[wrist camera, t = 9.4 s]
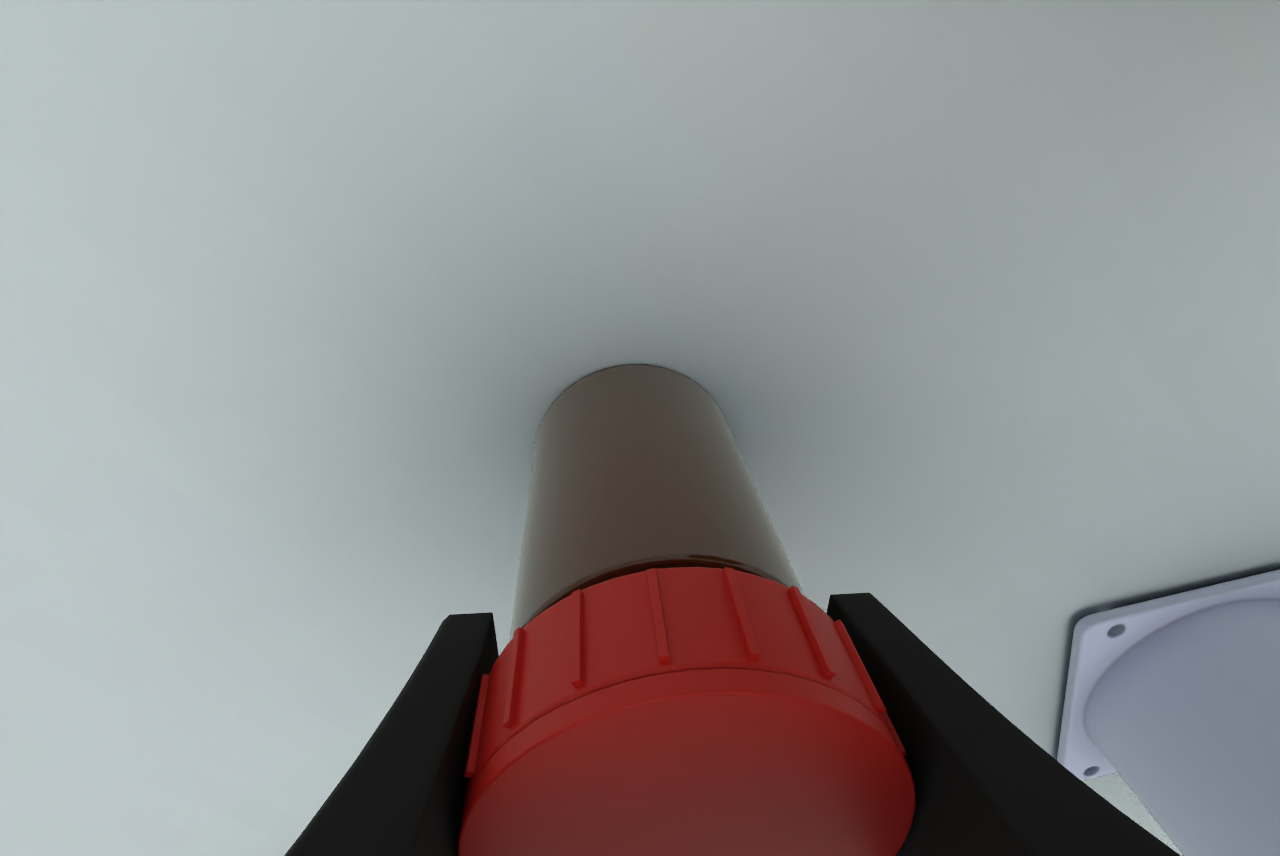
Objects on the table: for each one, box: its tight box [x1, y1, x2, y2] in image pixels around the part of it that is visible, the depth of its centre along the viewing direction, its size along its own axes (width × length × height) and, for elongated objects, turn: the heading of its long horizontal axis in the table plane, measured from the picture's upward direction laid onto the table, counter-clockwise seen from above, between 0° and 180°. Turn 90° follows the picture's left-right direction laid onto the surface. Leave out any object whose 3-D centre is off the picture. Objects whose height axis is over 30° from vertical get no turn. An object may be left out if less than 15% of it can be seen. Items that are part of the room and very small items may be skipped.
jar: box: [509, 365, 805, 642], centre depth 11 cm, size 5×5×8 cm
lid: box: [458, 567, 916, 856], centre depth 8 cm, size 5×5×2 cm
